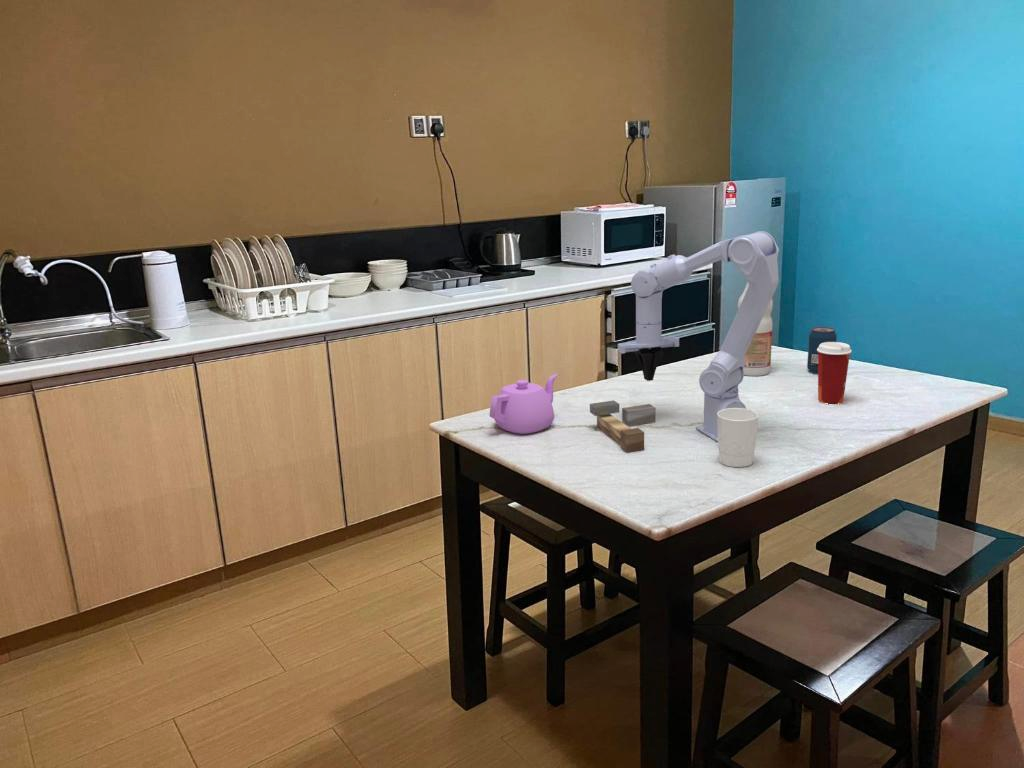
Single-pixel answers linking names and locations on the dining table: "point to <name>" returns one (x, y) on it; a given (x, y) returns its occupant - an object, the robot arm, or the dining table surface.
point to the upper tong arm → (612, 424)
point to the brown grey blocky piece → (633, 437)
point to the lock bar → (604, 408)
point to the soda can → (815, 339)
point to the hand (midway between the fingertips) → (648, 379)
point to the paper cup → (832, 371)
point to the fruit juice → (759, 344)
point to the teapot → (524, 407)
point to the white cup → (737, 436)
